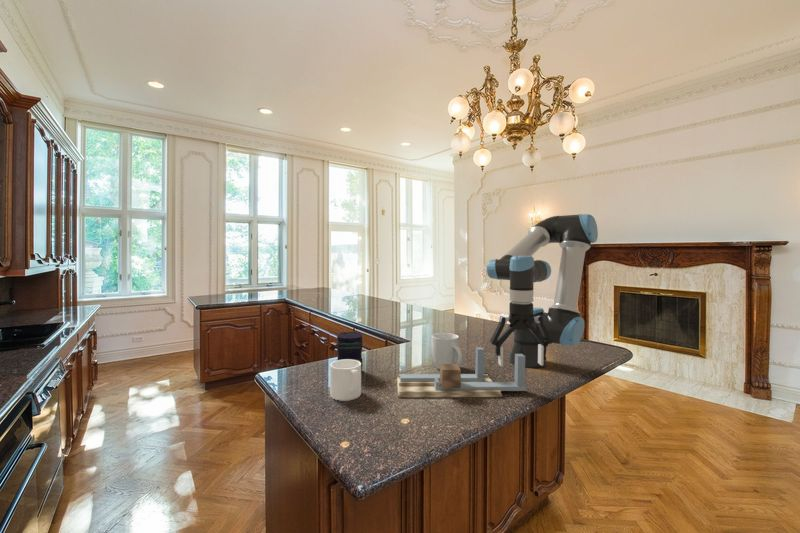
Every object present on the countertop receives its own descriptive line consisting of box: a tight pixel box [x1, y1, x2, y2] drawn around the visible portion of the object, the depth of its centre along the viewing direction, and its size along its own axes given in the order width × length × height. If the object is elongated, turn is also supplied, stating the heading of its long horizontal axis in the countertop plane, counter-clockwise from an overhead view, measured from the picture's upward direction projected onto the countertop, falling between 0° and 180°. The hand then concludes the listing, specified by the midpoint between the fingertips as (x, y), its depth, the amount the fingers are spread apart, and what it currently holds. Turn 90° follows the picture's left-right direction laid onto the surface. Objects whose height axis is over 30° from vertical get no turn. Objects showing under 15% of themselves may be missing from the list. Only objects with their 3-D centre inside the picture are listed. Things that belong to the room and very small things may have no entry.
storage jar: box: [336, 331, 364, 375], centre depth 136 cm, size 10×10×15 cm
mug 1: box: [329, 359, 362, 402], centre depth 115 cm, size 13×10×10 cm
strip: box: [434, 354, 527, 392], centre depth 118 cm, size 30×4×11 cm, turn 91°
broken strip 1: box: [400, 373, 440, 382], centre depth 126 cm, size 15×4×1 cm, turn 91°
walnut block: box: [439, 363, 462, 388], centre depth 118 cm, size 6×6×6 cm
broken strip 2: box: [461, 346, 485, 382], centre depth 126 cm, size 11×4×11 cm, turn 91°
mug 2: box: [430, 332, 463, 370], centre depth 141 cm, size 15×11×13 cm
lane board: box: [396, 373, 503, 398], centre depth 122 cm, size 34×16×2 cm, turn 91°
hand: (520, 364), depth 119 cm, fingers open, 13 cm apart
